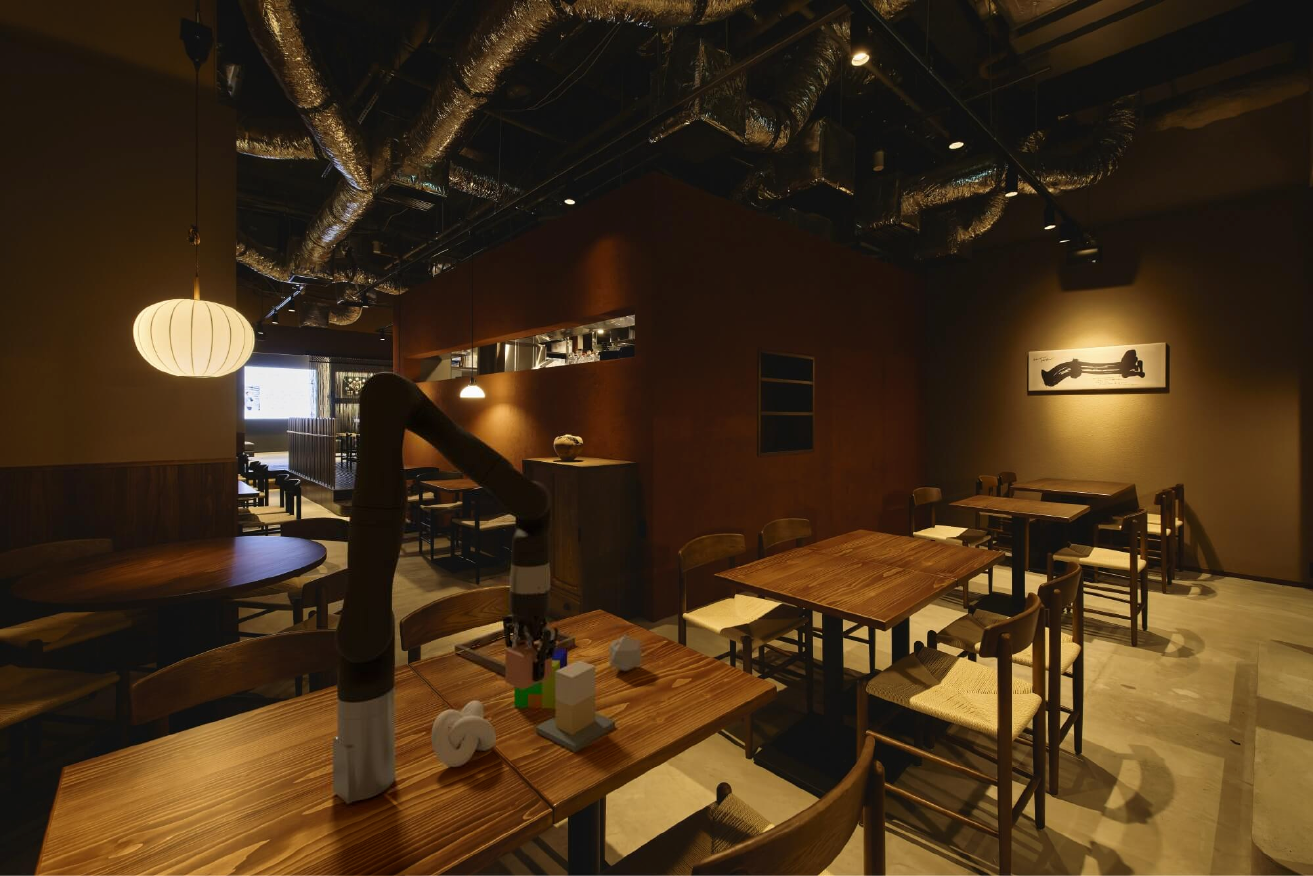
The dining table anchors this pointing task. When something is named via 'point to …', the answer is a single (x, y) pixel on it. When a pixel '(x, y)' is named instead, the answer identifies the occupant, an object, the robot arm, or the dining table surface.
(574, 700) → the brick white
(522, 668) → the brick terracotta
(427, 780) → the dining table surface
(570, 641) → the tray frame
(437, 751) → the white knot
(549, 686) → the puzzle toy
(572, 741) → the baseplate
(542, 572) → the robot arm
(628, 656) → the die
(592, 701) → the brick mustard
